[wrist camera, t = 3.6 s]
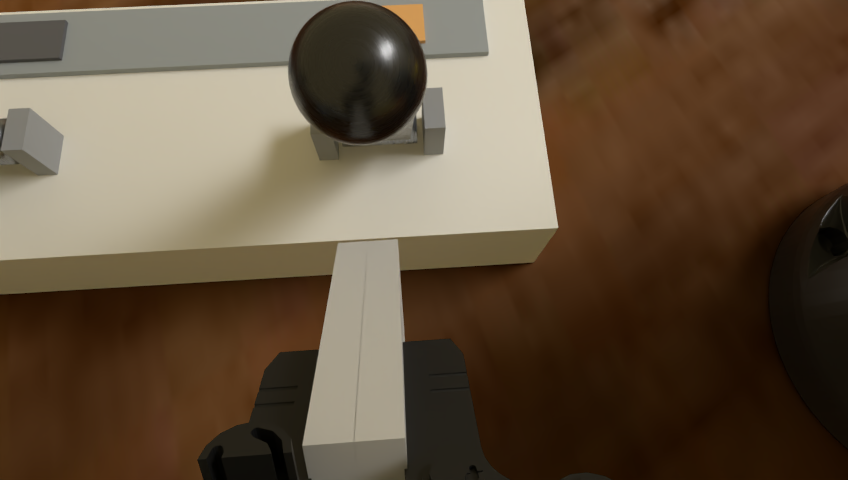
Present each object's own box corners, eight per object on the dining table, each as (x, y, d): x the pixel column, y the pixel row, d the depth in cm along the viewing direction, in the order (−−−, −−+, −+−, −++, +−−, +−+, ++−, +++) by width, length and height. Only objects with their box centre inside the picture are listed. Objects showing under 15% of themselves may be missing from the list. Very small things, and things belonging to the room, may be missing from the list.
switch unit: (506, 56, 31) (531, -48, 24) (533, 262, 27) (572, 207, 21) (-45, 82, 30) (-180, -18, 23) (-96, 300, 26) (-275, 255, 20)
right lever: (413, 86, 23) (426, -24, 11) (417, 158, 24) (434, 136, 11) (341, 89, 23) (266, -18, 10) (346, 162, 24) (280, 144, 11)
